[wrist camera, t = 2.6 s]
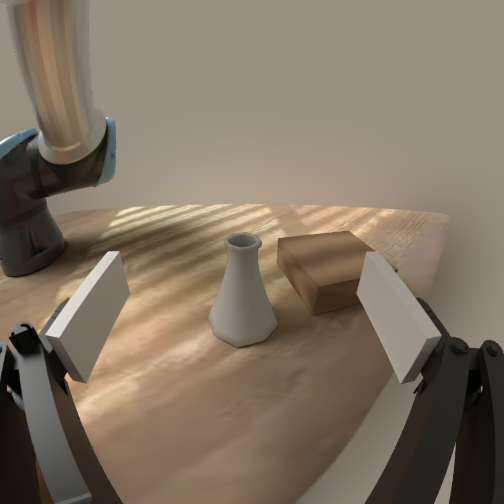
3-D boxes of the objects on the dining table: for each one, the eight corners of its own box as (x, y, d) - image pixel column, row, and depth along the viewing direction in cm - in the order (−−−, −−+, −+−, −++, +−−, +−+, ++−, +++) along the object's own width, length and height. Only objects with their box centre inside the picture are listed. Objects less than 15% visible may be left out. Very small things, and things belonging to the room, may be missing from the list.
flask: (197, 318, 30) (187, 236, 25) (248, 295, 34) (249, 218, 29) (234, 359, 25) (231, 270, 20) (289, 327, 29) (300, 243, 24)
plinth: (276, 262, 40) (278, 238, 39) (344, 253, 43) (348, 230, 42) (313, 315, 30) (318, 286, 28) (389, 294, 33) (398, 269, 31)
